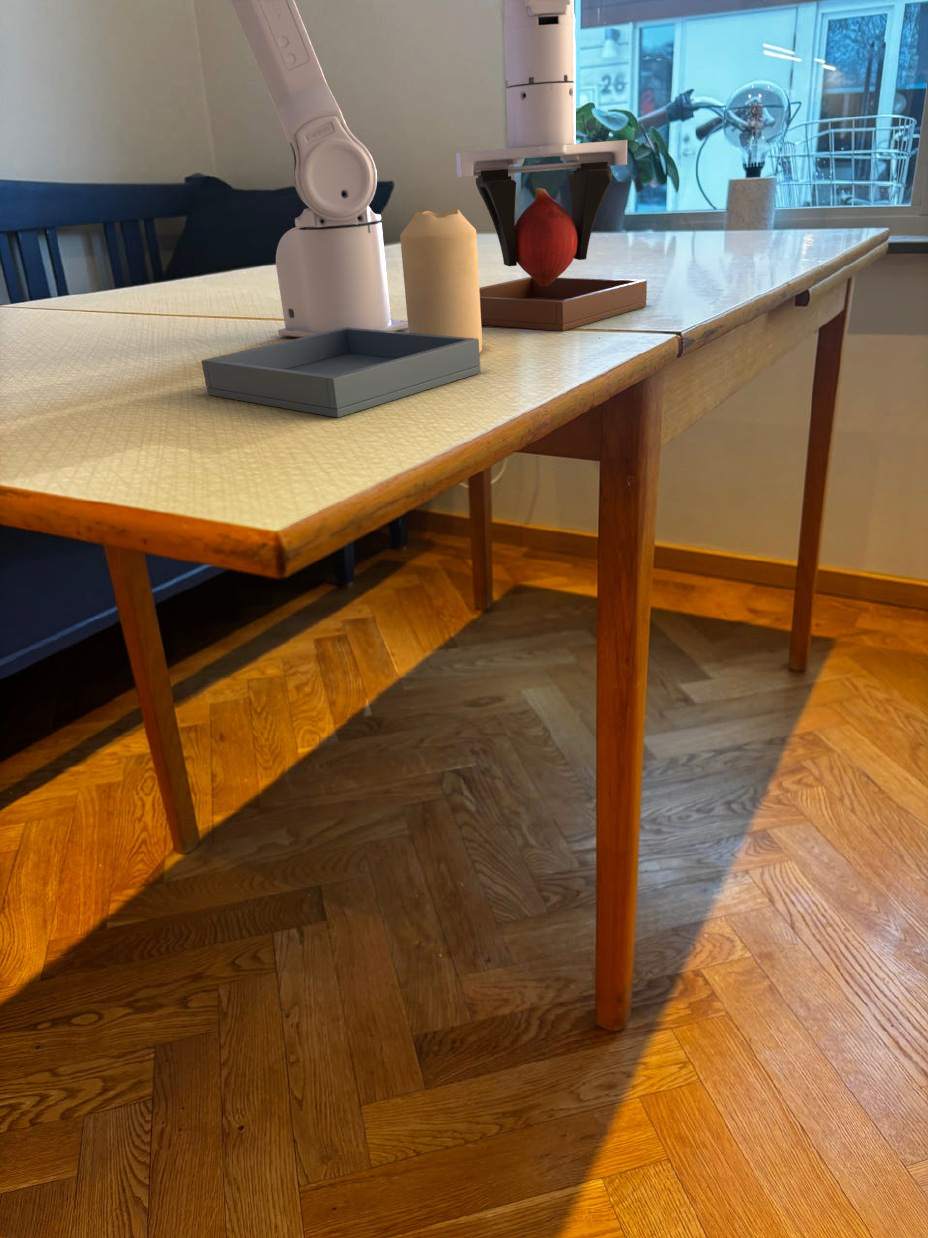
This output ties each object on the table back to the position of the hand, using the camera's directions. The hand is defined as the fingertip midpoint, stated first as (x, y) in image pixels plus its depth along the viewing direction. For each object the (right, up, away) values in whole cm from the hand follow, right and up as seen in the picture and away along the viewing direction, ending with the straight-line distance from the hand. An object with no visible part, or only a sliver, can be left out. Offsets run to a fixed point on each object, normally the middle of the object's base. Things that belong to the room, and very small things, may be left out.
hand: (544, 261), depth 81 cm
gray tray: (-15, -16, -19) cm, 29 cm away
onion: (0, -2, +1) cm, 2 cm away
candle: (-9, -12, -12) cm, 18 cm away
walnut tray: (0, -4, +2) cm, 4 cm away
